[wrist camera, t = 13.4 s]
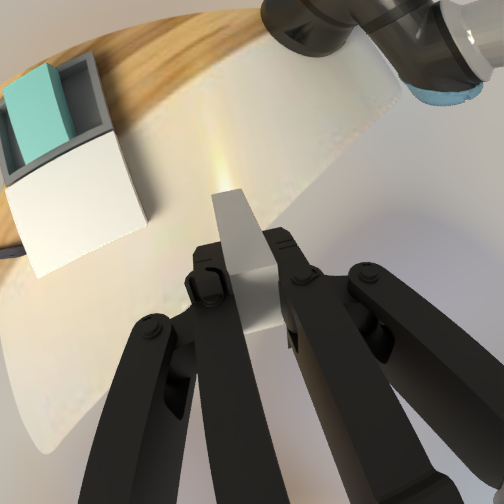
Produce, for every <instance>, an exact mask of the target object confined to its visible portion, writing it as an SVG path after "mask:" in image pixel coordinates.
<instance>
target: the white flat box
mask: <svg viewBox="0 0 504 504" xmlns="http://www.w3.org/2000/svg"><path fill="white" fill-rule="evenodd" d="M5 193H6V196H7V200H8V203H9V206H10V209H11V213H12V216H13V218H14V221H15V224H16V227H17V230H18V233H19V235H20V238H21V240H22V243H23V246H24V248H25V251H26V253H27V255H28V258H29V260H30V262H31V265H32V267H33V269H34V271H35V273H36V276H37V278H38V279H39V278H41V277H42V276H44V275H46V274H48V273H50V272H52V271H54V270H56V269H58V268H60V267H61V266H63V265H65V264H67V263H69V262H71V261H73V260H75V259H77V258H79V257H81V256H83V255H85V254H87V253H89V252H91V251H94V250H96V249H98V248H100V247H102V246H104V245H106V244H108V243H110V242H112V241H115V240H117V239H119V238H121V237H123V236H125V235H128V234H130V233H132V232H134V231H136V230H139V229H141V228H143V227H145V226H148V220H147V218H146V215H145V213H144V210H143V208H142V205H141V203H140V200H139V197H138V195H137V192H136V189H135V187H134V184H133V181H132V178H131V176H130V173H129V170H128V167H127V164H126V161H125V159H124V156H123V153H122V150H121V147H120V144H119V140H118V137H117V136H116V134H115V133H114V131H112V132H109V133H107V134H105V135H103V136H100V137H98V138H96V139H94V140H92V141H90V142H88V143H85V144H83V145H81V146H79V147H77V148H75V149H73V150H71V151H70V152H68V153H66V154H64V155H62V156H60V157H58V158H56V159H55V160H53V161H51V162H49V163H47V164H46V165H44V166H42V167H41V168H39V169H37V170H35V171H34V172H32V173H30V174H29V175H27V176H26V177H24V178H22V179H21V180H19V181H18V182H16V183H15V184H13V185H12V186H10V187H9V188H7V189H6V190H5Z"/></svg>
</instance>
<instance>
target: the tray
mask: <svg viewBox="0 0 504 504" xmlns="http://www.w3.org/2000/svg"><path fill="white" fill-rule="evenodd" d="M55 68H57V69H58V72H59V76H60V80H61V84H62V87H63V91H64V94H65V98H66V101H67V105H68V108H69V111H70V114H71V117H72V120H73V123H74V126H75V129H76V132H77V135H78V136H76V137H74V138H73V139H71V140H69V141H67V142H65V143H63V144H61V145H59V146H58V147H56V148H54V149H52V150H50V151H49V152H47V153H45V154H43V155H42V156H40V157H38V158H37V159H35V160H33V161H32V162H30V163H28V164H27V165H26V164H25V161H24V159H23V156H22V153H21V150H20V148H19V145H18V142H17V139H16V136H15V133H14V130H13V127H12V124H11V120H10V117H9V113H8V110H7V106H6V102H5V99H4V98H3V99H2V100H1V101H0V167H1V171H2V175H3V179H4V183H5V187H10V186H12V185H13V184H15V183H16V182H18V181H19V180H21V179H22V178H24V177H26V176H27V175H29V174H30V173H32V172H34V171H35V170H37V169H39V168H41V167H42V166H44V165H46V164H47V163H49V162H51V161H53V160H55V159H56V158H58V157H60V156H62V155H64V154H66V153H68V152H70V151H71V150H73V149H75V148H77V147H79V146H81V145H83V144H85V143H88V142H90V141H92V140H94V139H96V138H98V137H100V136H103V135H105V134H107V133H109V132H112V131H114V133H115V134H116V131H115V128H114V125H113V121H112V118H111V115H110V111H109V108H108V104H107V101H106V97H105V94H104V90H103V86H102V83H101V79H100V75H99V71H98V67H97V63H96V60H95V57H94V54H93V52H92V51H90V52H87V53H85V54H83V55H80V56H78V57H76V58H74V59H72V60H70V61H67V62H65V63H63V64H61V65H59V66H57V67H55Z"/></svg>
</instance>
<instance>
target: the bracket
mask: <svg viewBox="0 0 504 504" xmlns="http://www.w3.org/2000/svg"><path fill="white" fill-rule="evenodd" d="M26 254H27V253H26V251H25V248H24V246H23V245H19V246H14V247H9V248H4V249H0V259H7V258H16V257H20V256H23V255H26Z"/></svg>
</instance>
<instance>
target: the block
mask: <svg viewBox="0 0 504 504" xmlns="http://www.w3.org/2000/svg"><path fill="white" fill-rule="evenodd" d="M2 90H3V95H4V99H5V102H6V106H7V110H8V113H9V117H10V120H11V124H12V127H13V130H14V133H15V136H16V139H17V142H18V145H19V148H20V150H21V153H22V156H23V159H24V161H25V164H26V165H27V164H28V163H30V162H32V161H33V160H35V159H37V158H38V157H40V156H42V155H43V154H45V153H47V152H49V151H50V150H52V149H54V148H56V147H58V146H59V145H61V144H63V143H65V142H67V141H69V140H71V139H73V138H74V137H76V136H78V135H77V132H76V129H75V126H74V123H73V120H72V117H71V114H70V111H69V108H68V105H67V101H66V98H65V94H64V91H63V87H62V84H61V80H60V76H59V72H58V69H57V68H55V67H53V66H51V65H50V64H48V63H44V64H43V65H41V66H39V67H37V68H35V69H34V70H32V71H30V72H29V73H27V74H25V75H24V76H22V77H20V78H19V79H17V80H16V81H14V82H12V83H11V84H9V85H8V86H6V87H5V88H3V89H2Z"/></svg>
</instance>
